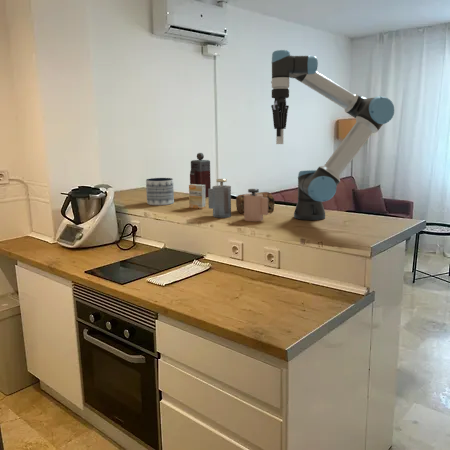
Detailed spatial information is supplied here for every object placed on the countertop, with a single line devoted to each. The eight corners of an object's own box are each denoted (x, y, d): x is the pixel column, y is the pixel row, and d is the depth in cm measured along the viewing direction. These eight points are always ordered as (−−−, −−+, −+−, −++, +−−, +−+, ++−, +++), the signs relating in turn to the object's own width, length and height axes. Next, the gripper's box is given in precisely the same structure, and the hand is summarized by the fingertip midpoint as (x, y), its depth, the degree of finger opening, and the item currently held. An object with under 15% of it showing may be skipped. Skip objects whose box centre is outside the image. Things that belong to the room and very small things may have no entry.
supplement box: (189, 208, 259) (188, 184, 256) (192, 206, 263) (192, 183, 261) (202, 209, 256) (201, 185, 253) (206, 207, 260) (205, 184, 258)
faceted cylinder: (214, 213, 243) (213, 184, 240) (234, 215, 237) (234, 186, 233) (204, 216, 235) (203, 186, 232) (225, 218, 229) (224, 188, 226)
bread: (268, 208, 254) (268, 190, 252) (274, 212, 244) (275, 193, 242) (235, 210, 250) (235, 192, 248) (240, 214, 240) (240, 195, 238)
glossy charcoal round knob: (251, 212, 229) (251, 188, 226) (260, 213, 226) (260, 189, 224) (246, 213, 224) (246, 189, 222) (255, 214, 222) (255, 190, 219)
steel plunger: (220, 203, 237) (219, 178, 235) (228, 204, 235) (228, 179, 232) (215, 204, 233) (214, 179, 230) (223, 205, 231) (223, 180, 228)
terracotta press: (249, 216, 232) (249, 193, 229) (271, 219, 226) (271, 194, 223) (240, 220, 224) (240, 195, 222) (263, 222, 218) (263, 197, 216)
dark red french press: (188, 197, 298) (187, 153, 292) (201, 195, 306) (200, 152, 300) (198, 198, 292) (197, 153, 286) (211, 196, 300) (210, 152, 295)
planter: (179, 202, 280) (178, 178, 277) (162, 206, 267) (161, 181, 264) (159, 200, 288) (158, 177, 285) (141, 204, 275) (140, 180, 272)
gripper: (278, 89, 208) (278, 143, 213) (265, 88, 197) (265, 144, 202) (294, 89, 204) (293, 143, 209) (281, 87, 193) (281, 144, 198)
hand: (279, 144), depth 206 cm, fingers closed
